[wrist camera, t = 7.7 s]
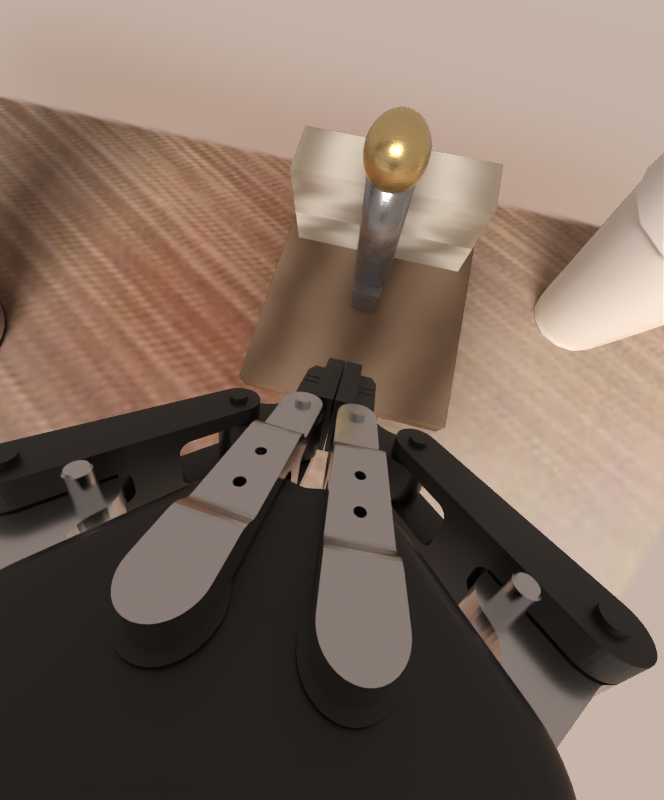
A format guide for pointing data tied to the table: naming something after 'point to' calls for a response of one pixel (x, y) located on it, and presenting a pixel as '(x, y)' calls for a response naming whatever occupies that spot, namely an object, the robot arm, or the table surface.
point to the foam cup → (612, 275)
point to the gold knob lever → (387, 196)
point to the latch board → (400, 295)
